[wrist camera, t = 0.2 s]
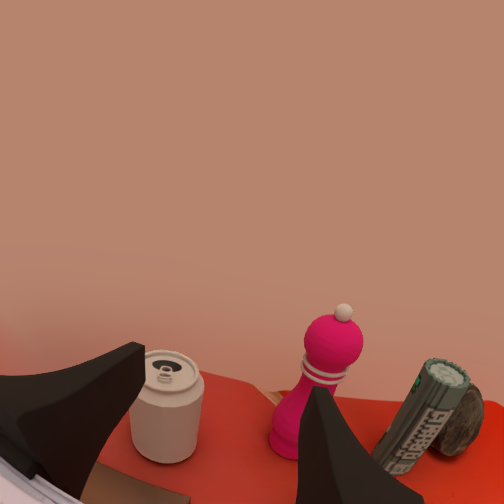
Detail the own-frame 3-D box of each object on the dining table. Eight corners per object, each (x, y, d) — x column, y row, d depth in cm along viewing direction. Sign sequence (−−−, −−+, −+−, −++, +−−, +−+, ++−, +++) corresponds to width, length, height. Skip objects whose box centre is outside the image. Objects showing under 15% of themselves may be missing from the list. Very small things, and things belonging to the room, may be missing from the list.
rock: (427, 461, 27) (468, 403, 26) (408, 419, 38) (438, 367, 37) (474, 463, 26) (511, 409, 24) (451, 426, 37) (480, 378, 35)
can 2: (407, 445, 32) (459, 361, 28) (413, 475, 26) (477, 389, 22) (370, 442, 33) (419, 355, 29) (373, 474, 27) (434, 385, 23)
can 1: (196, 424, 33) (206, 349, 30) (196, 470, 26) (207, 398, 23) (137, 416, 31) (134, 339, 28) (128, 461, 24) (118, 385, 21)
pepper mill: (263, 421, 36) (303, 285, 31) (314, 424, 36) (366, 295, 31) (265, 461, 28) (318, 316, 24) (323, 463, 29) (393, 325, 24)
